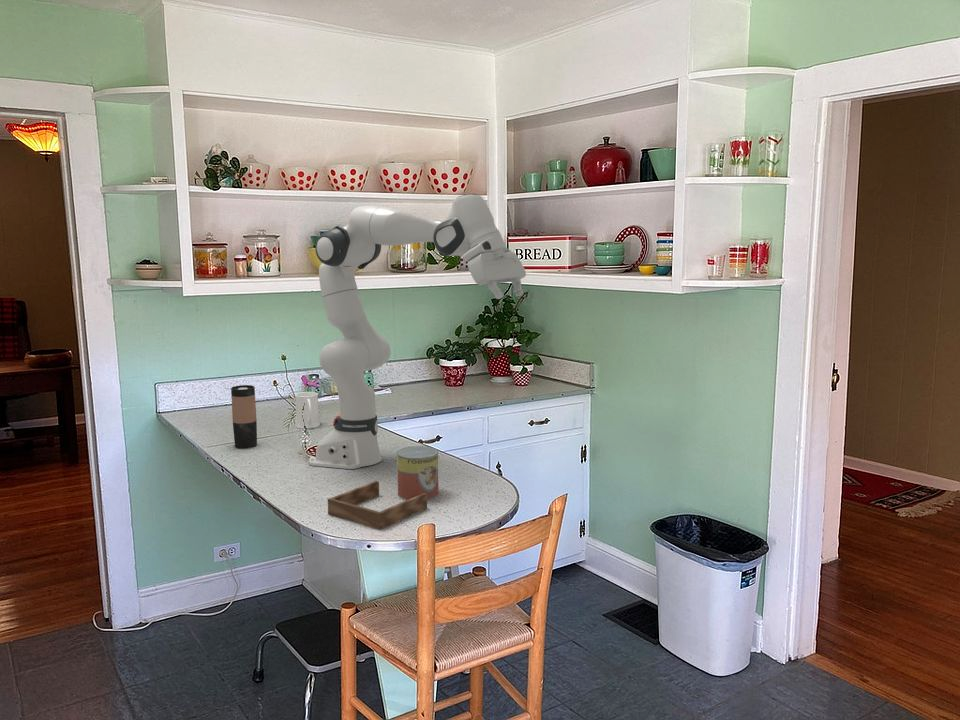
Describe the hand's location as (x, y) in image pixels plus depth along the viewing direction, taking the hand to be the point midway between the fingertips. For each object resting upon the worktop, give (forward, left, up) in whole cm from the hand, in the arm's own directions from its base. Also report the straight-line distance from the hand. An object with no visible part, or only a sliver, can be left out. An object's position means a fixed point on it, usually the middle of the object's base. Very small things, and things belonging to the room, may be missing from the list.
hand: (510, 296), depth 211 cm
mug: (-78, +66, -55) cm, 116 cm away
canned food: (-25, -2, -55) cm, 60 cm away
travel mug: (-91, +40, -55) cm, 113 cm away
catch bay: (-33, -16, -54) cm, 66 cm away
